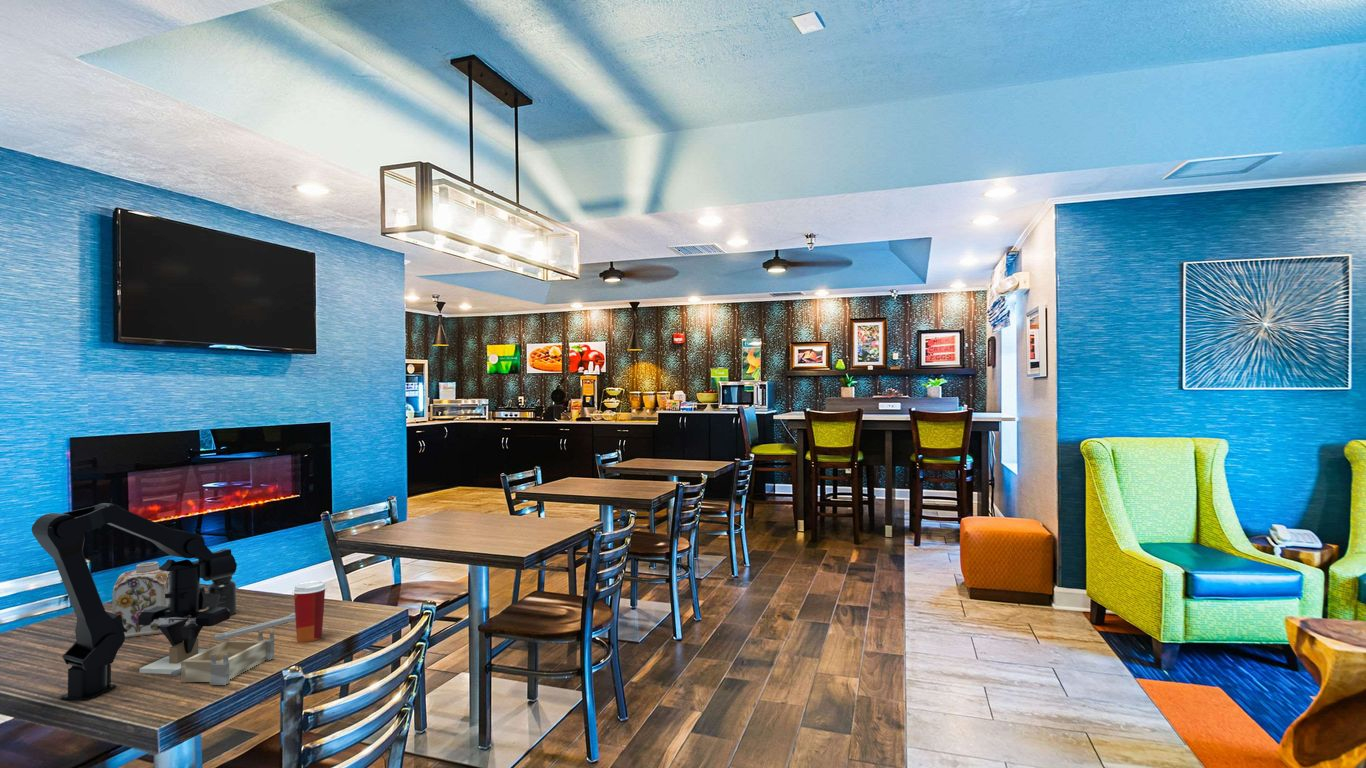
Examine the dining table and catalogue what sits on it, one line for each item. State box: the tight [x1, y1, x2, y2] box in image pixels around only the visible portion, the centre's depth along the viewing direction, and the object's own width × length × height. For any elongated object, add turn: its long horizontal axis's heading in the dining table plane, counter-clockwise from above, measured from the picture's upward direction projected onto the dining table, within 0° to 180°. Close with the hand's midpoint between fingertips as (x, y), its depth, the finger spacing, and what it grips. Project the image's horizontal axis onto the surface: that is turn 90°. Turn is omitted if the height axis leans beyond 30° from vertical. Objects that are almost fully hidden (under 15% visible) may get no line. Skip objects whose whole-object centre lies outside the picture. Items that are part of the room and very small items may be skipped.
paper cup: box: [292, 580, 327, 644], centre depth 172 cm, size 8×8×14 cm
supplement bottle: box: [207, 575, 237, 616], centre depth 192 cm, size 7×7×12 cm
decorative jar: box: [111, 561, 170, 639], centre depth 180 cm, size 12×12×18 cm
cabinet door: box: [139, 638, 208, 677], centre depth 157 cm, size 15×10×5 cm
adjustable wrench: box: [214, 612, 296, 641], centre depth 183 cm, size 25×6×2 cm, turn 139°
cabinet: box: [180, 630, 275, 686], centre depth 152 cm, size 15×11×6 cm
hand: (184, 652), depth 157 cm, fingers closed on cabinet door
